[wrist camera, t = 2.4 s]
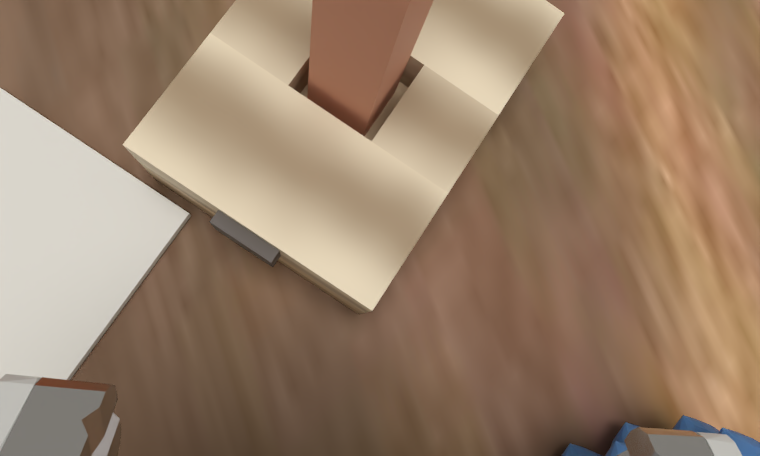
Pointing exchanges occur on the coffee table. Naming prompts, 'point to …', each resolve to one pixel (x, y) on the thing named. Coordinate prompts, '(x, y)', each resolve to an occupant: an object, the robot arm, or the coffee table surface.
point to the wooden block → (361, 55)
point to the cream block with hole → (333, 137)
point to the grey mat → (68, 243)
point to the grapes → (750, 449)
